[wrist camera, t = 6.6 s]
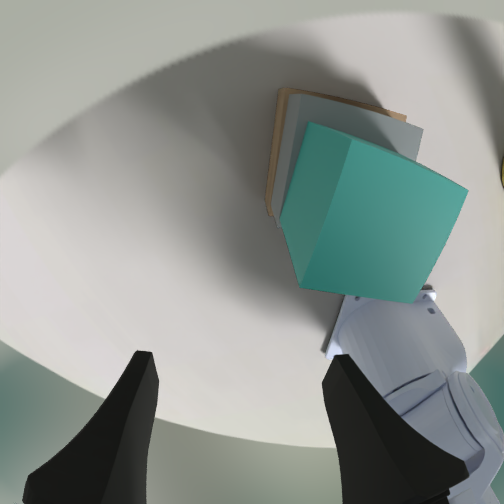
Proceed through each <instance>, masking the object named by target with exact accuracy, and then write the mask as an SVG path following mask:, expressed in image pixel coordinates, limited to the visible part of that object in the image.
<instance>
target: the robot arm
mask: <svg viewBox="0 0 504 504" xmlns="http://www.w3.org/2000/svg"><path fill="white" fill-rule="evenodd" d="M436 295H437V293H436V292H435V290H420V292H419V294H418V296H417V297H416V299H415V301H414V302H413V304H409V303H401V302H394V301H386V300H379V299H372V298H365V297H357V298H355V297H356V296H351V295H345V297H344V301H343V304H342V307H341V310H340V313H339V316H338V319H337V322H336V325H335V328H334V330H333V333H332V336H331V339H330V342H329V344H328V347H327V350H326V353H325V357H326V359H333V360H332V362H331V364H330V367H329V369H328V371H327V373H326V375H325V377H324V379H323V381H322V388H323V396H324V402H325V407H326V411H327V414H328V418H329V422H330V425H331V429H332V433H333V436H334V440H335V444H336V447H337V452H338V457H339V465H340V472H341V483H342V498H343V504H500V503H499V501H498V499H497V497H496V495H495V494H494V492H493V490H492V488H491V487H490V484H491V482H492V480H493V479H494V477H495V475H496V474H497V472H498V470H499V468H500V467H501V465H502V463H503V460H504V434H503V431H502V428H501V427H500V425H499V423H498V422H497V419H496V416H495V414H494V411H493V409H492V407H491V405H490V403H489V401H488V399H487V398H486V396H485V394H484V393H483V391H482V390H481V388H480V387H479V385H478V384H477V383H476V381H475V380H474V379H473V378H472V377H471V376H470V375H469V374H468V373H466V368H467V359H466V352H465V348H464V346H463V343H462V342H461V340H460V338H459V337H458V335H457V334H456V332H455V331H454V329H453V328H452V326H451V325H450V324H449V322H448V321H447V319H446V318H445V316H444V315H443V314H442V312H441V311H440V309H439V308H438V307H437V305H436V304H435V302H434V299H435V297H436ZM158 388H159V379H158V375H157V371H156V367H155V363H154V358H153V354H152V352H147V351H138V350H137V351H136V352H135V353H134V355H133V356H132V358H131V360H130V362H129V364H128V365H127V367H126V369H125V370H124V372H123V374H122V375H121V377H120V379H119V380H118V382H117V383H116V385H115V386H114V388H113V389H112V391H111V392H110V394H109V395H108V397H107V398H106V399H105V401H104V402H103V404H102V405H101V406H100V408H99V409H98V410H97V412H96V413H95V414H94V416H93V417H92V418H91V419H90V421H89V422H88V423H87V424H86V426H84V428H83V429H82V430H81V431H80V432H79V433H78V434H77V435H76V436H75V437H74V438H73V439H72V440H71V441H70V442H69V443H68V444H67V445H66V446H65V447H64V448H63V449H62V450H61V451H59V452H58V453H57V454H56V455H55V456H54V457H52V458H51V459H50V460H49V461H48V462H46V463H45V464H43V465H42V466H41V467H40V468H38V469H36V470H35V471H34V472H33V473H31V474H30V475H28V478H27V481H26V484H25V488H24V494H23V499H22V501H23V503H24V504H146V473H147V456H148V448H149V443H150V438H151V432H152V427H153V422H154V417H155V412H156V407H157V399H158ZM14 504H17V503H14Z"/></svg>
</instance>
